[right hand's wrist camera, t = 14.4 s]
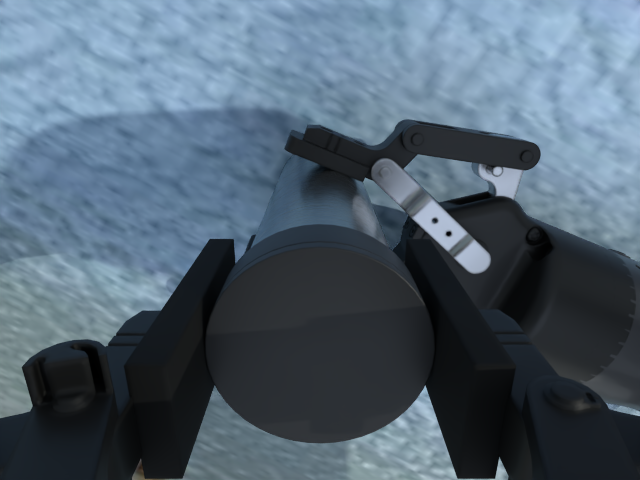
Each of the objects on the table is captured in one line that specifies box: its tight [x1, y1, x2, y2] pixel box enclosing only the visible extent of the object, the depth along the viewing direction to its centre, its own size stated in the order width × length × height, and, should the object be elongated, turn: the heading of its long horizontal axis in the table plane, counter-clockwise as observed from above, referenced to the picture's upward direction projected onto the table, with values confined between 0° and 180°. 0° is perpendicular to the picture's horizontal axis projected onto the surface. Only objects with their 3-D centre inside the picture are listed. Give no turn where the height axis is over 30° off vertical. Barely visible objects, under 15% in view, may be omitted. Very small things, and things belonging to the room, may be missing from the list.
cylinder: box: [251, 155, 390, 249], centre depth 19 cm, size 5×5×16 cm
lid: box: [205, 224, 435, 443], centre depth 11 cm, size 6×6×2 cm
